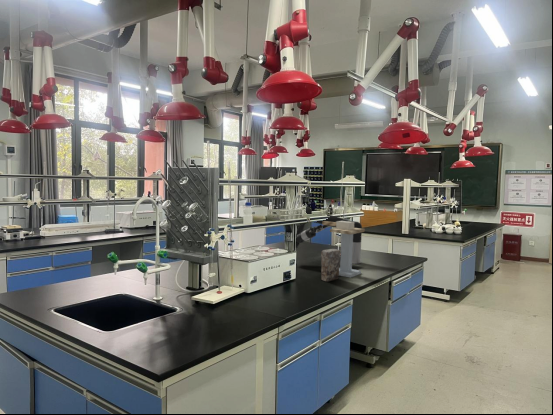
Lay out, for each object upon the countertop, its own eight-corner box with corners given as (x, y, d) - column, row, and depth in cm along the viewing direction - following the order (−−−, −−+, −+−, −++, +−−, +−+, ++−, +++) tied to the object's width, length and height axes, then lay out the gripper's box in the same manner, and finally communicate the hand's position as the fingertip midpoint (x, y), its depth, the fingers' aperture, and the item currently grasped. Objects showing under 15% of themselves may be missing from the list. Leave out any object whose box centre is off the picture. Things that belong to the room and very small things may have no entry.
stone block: (328, 282, 248) (329, 251, 246) (319, 280, 252) (320, 250, 251) (340, 278, 257) (341, 249, 256) (331, 276, 262) (332, 248, 261)
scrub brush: (320, 226, 280) (320, 219, 279) (325, 225, 286) (326, 219, 286) (348, 229, 266) (349, 222, 265) (354, 228, 272) (354, 221, 272)
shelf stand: (328, 274, 269) (329, 229, 267) (342, 269, 286) (344, 226, 284) (348, 278, 259) (350, 231, 257) (362, 272, 277) (364, 228, 275)
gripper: (301, 230, 286) (317, 221, 277) (311, 229, 297) (327, 220, 288) (305, 239, 284) (321, 230, 275) (315, 237, 296) (331, 229, 287)
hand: (324, 225), depth 282 cm, fingers open, 8 cm apart
